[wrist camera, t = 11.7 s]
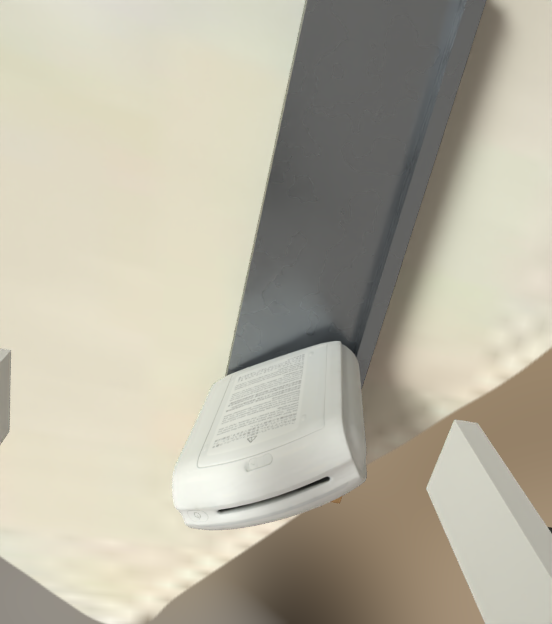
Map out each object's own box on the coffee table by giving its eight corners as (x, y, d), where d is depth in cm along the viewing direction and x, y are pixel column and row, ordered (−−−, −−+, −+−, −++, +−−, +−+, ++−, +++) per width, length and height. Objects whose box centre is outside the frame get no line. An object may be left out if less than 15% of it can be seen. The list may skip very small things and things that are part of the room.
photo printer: (230, 429, 38) (185, 566, 26) (204, 378, 36) (145, 498, 25) (368, 385, 35) (386, 513, 24) (345, 329, 34) (353, 435, 23)
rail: (318, -60, 28) (333, -96, 23) (474, -16, 30) (520, -41, 24) (212, 434, 40) (207, 483, 34) (328, 452, 41) (339, 503, 36)
